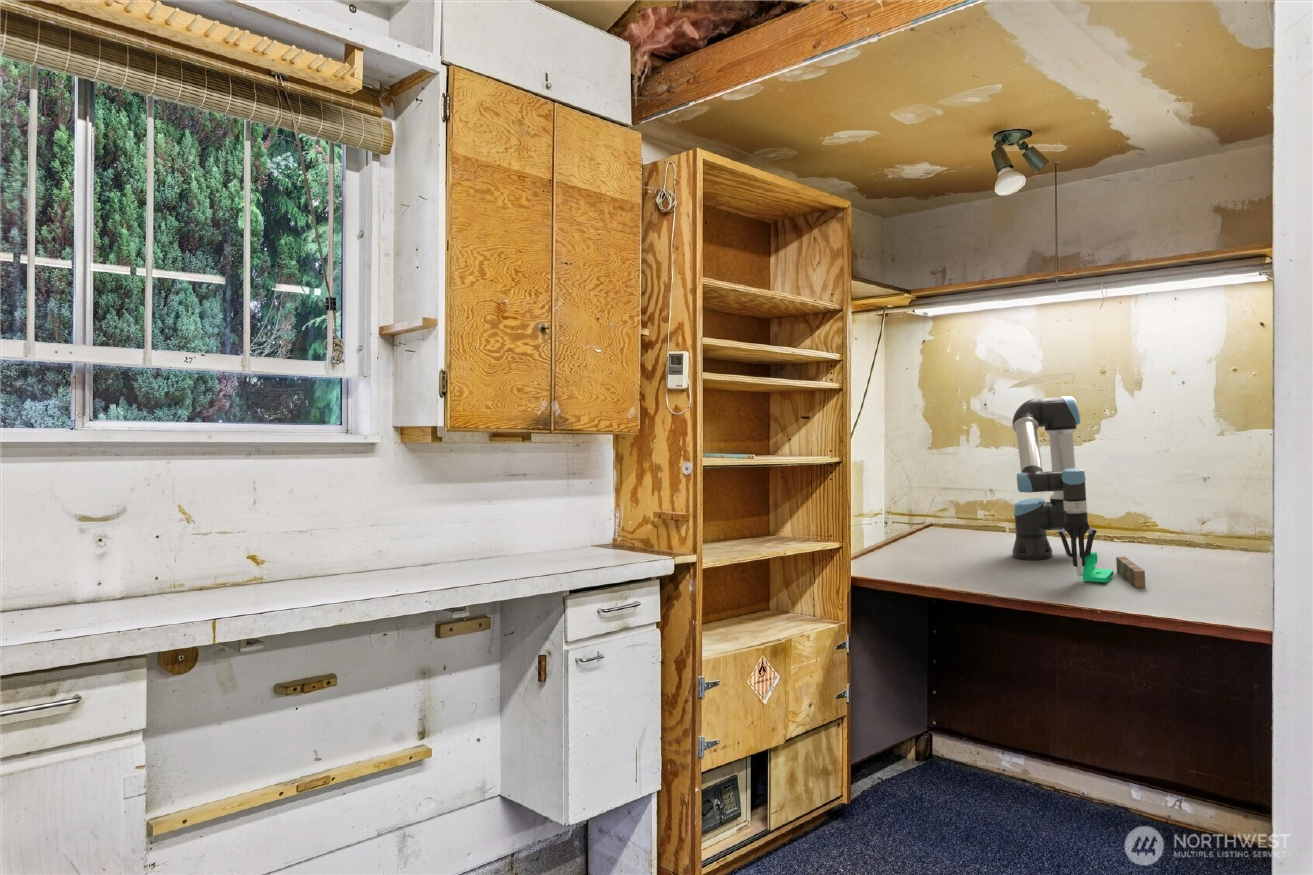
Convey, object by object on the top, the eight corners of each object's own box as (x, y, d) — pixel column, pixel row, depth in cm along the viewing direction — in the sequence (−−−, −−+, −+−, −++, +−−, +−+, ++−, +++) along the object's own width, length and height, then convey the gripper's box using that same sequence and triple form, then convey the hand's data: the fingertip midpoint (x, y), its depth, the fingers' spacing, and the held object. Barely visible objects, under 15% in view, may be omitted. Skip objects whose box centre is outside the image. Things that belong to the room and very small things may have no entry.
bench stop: (1117, 572, 308) (1116, 557, 308) (1125, 572, 308) (1124, 556, 307) (1136, 588, 289) (1135, 571, 288) (1145, 587, 288) (1144, 570, 288)
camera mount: (1106, 585, 296) (1104, 557, 295) (1082, 583, 301) (1081, 555, 300) (1114, 576, 305) (1112, 549, 304) (1091, 574, 310) (1090, 547, 309)
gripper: (1058, 514, 298) (1063, 578, 300) (1098, 512, 295) (1102, 577, 297) (1053, 510, 306) (1057, 573, 308) (1092, 508, 303) (1095, 571, 305)
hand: (1079, 575), depth 303 cm, fingers closed
